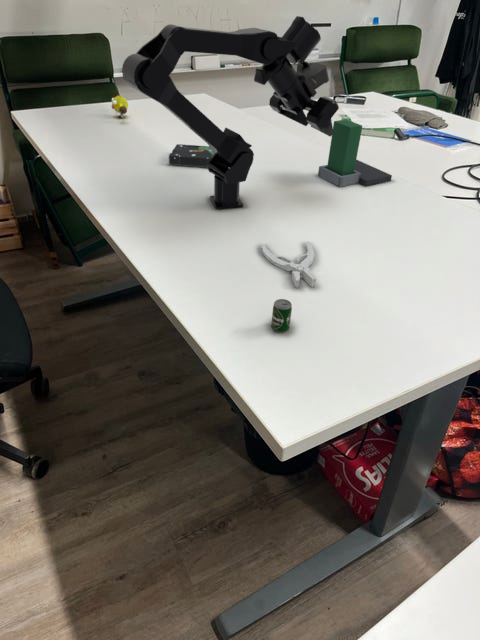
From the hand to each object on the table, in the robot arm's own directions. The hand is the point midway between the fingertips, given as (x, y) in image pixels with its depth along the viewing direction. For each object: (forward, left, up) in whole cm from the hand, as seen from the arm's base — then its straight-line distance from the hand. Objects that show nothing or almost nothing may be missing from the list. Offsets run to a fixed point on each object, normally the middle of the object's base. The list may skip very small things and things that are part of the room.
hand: (319, 129), depth 113 cm
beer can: (-53, +28, -14) cm, 62 cm away
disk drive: (+23, +24, -14) cm, 36 cm away
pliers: (-36, +19, -14) cm, 43 cm away
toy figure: (+71, +41, -14) cm, 83 cm away
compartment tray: (+4, -13, -14) cm, 19 cm away
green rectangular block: (+3, -9, -14) cm, 16 cm away
